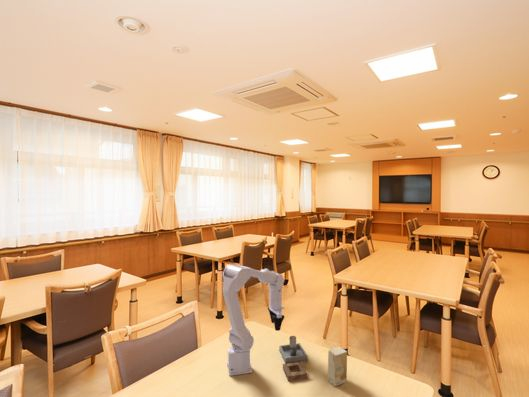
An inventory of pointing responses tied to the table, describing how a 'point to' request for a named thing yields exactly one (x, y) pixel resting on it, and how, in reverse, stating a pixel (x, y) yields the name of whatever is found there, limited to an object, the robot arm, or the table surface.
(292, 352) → the pin
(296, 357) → the tray
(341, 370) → the skincare box
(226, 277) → the robot arm
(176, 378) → the table surface
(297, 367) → the socket
